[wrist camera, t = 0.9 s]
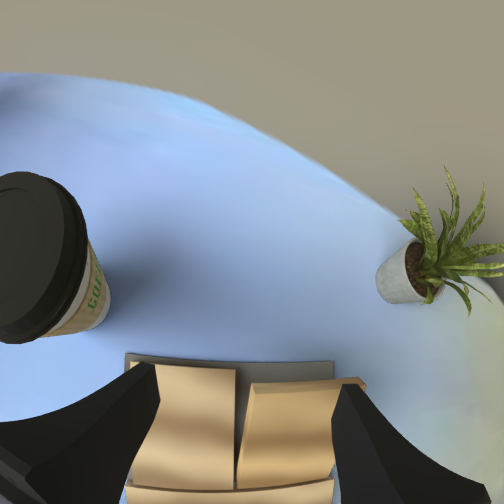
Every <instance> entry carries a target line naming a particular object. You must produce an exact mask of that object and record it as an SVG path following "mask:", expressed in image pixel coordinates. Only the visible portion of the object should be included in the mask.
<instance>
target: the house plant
mask: <svg viewBox="0 0 504 504" xmlns="http://www.w3.org/2000/svg"><path fill="white" fill-rule="evenodd" d="M444 168H445V167H444ZM445 171H446V173H447V175H448V177H449V180H450V183H451V186H452V188H453V193H454V197H455V207H456V210H455V212H454V214H453V216H452V217H451V216H450V217H451V219H449V216H448V214H447V213H446V212H445V211H444V210H441V209H440V213H441V216H442V220H443V226H444V227H443V231H442V234H441V236H440V238H439V240H438V242H437V241H436V237H435V233H434V230H433V227H432V223H431V220H430V217H429V215H428V212H427V210H426V207H425V205H424V203H423V201H422V199H421V198H420V197H419V195H418V193H417V192H416V191H415V189H414V188H413V189H414V195H415V199H416V202H417V204H418V207H419V211H420V214H418V213H416V212H412V211H408V212H410V214H411V216H412V218H413V219H414V221H415V222H416V223H415V222H414V221H411V220H397V221H400V222H401V223H402V224H403V226H404V227H405V228H406V229H407V230H408V231H410V232H411V233H412V234H413V235H414V236H416V238H412V239H411V240H410V241H408V242H407V243H406V244H405V245H404V246H403V247H402V248H401V249H399V250H398V251H397V252H396V253H395V254H394V255H393V256H391V257H390V258H389V259H388V260H387V261H386V262H384V263H383V264H382V265H381V266H380V267H379V269H378V271H377V273H376V286H377V289H378V292H379V294H380V295H381V297H382V298H383V299H384V300H385V301H387V302H389V303H391V304H397V303H413V302H424V303H422V304H431V303H432V302H433V301H434V300H436V299H438V298H439V297H440V296H441V295H442V293H443V291H444V288H445V284H447V285H450V286H451V287H452V288H454V289H455V290H456V291H457V292H458V293H459V294H460V296H461V297H462V299H463V300H464V302H465V304H466V306H467V308H468V311H469V315H470V312H471V303H470V300H469V298H468V296H467V295H468V293H469V290H468V288H467V286H466V285H465V284H467V285H469V284H468V283H466V282H464V281H462V280H461V278H460V277H459V276H478V277H497V276H502V275H504V273H498V272H494V271H478V270H470V269H496V268H500V267H504V263H488V264H476V262H475V259H476V258H480V257H483V256H488V255H492V254H498V253H504V243H499V244H475V245H472V246H469V247H466V248H463V247H464V246H465V245H466V243H467V241H468V240H469V238H470V236H471V234H472V233H473V232H474V231H475V230H476V229H477V228H478V227H479V225H480V224H481V223H482V221H483V218H484V214H485V207H484V211H483V213H482V215H481V217H480V219H479V220H478V222H477V223H476V224H475V225H474V226H473V223H474V221H475V219H477V217H478V216H479V214H480V212H481V210H482V208H483V205H484V199H485V186H484V184H483V191H482V195H481V198H480V201H479V203H478V205H477V207H476V208H475V210H474V211H473V213H472V214H471V215H470V217H469V218H468V219H467V221H466V222H465V224H464V226H463V228H462V229H461V230H460V232H459V233H458V235H457V236H456V237H455V239H454V240H453V241H452V243H451V244H450V245H449V243H450V242H451V239H452V237H453V234H454V231H455V228H456V224H457V220H458V215H459V196H458V193H457V190H456V187H455V185H454V183H453V181H452V179H451V176H450V174H449V173H448V171H447V170H446V168H445ZM446 184H447V183H446ZM447 186H448V185H447ZM448 188H449V186H448ZM449 190H450V188H449ZM450 193H451V196H452V202H453V195H452V192H451V190H450ZM452 206H453V204H452ZM452 211H453V207H452ZM452 226H453V228H452ZM451 228H452V233H451V236H450V239H449V241H448V233H449V231H450V229H451ZM448 245H449V246H448ZM458 275H459V276H458ZM446 278H448V279H452V280H454V281H456V282H458V283H462V284H464V283H465V284H464V290H465V293H464V292H463V291H462V290H461V289H460V288H459V287H458V286H456V285H455V284H453V283H450V282H447V281H446ZM469 286H470V287H472V286H471V285H469ZM472 288H473V289H474V290H476V291H477V292H479V293H480V294H482V295H483V296H484V297H485V298H487V297H486V296H485V295H484V294H483V293H481V292H480V291H478V290H477V289H475V288H474V287H472ZM487 299H488V298H487ZM488 300H489V299H488ZM489 301H490V300H489ZM490 302H491V301H490ZM422 304H421V305H422ZM467 319H468V318H467Z"/></svg>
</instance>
